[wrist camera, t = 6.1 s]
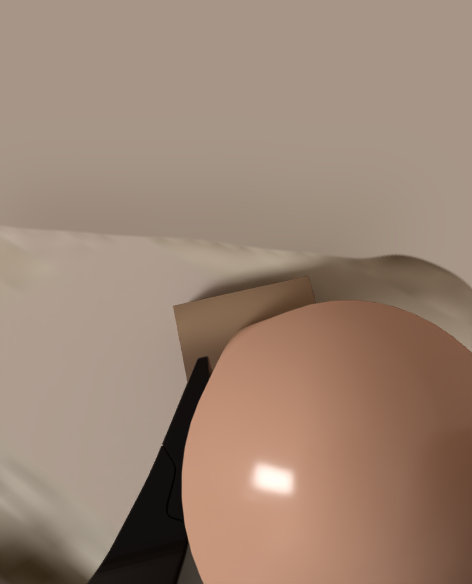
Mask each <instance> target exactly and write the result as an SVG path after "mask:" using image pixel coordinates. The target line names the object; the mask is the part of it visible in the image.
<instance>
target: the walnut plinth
mask: <svg viewBox="0 0 472 584" xmlns="http://www.w3.org/2000/svg"><path fill="white" fill-rule="evenodd" d="M311 304H316V302H315V298H314V295H313V291H312V288H311V284H310V280H309V277H308V276H305V277H301V278H296V279H292V280H287V281H283V282H278V283H274V284H269V285H265V286H260V287H256V288H251V289H247V290H242V291H238V292H233V293H229V294H224V295H220V296H215V297H211V298H206V299H202V300H197V301H193V302H188V303H184V304H179V305H175V306H173V308H174V313H175V319H176V324H177V329H178V334H179V340H180V345H181V350H182V355H183V361H184V366H185V371H186V376H187V382H188V380H189V378H190V376H191V373H192V371H193V368H194V366H195V363H196V361H197V359H198V358H199V357H204V356H208V357H209V360H210V363H211V366H212V370H213V371H214V369H215V367H216V364H217V362H218V360H219V358H220V356H221V354H222V352H223V350H224V348H225V346H226V344H227V342H228V341H229V339H230V338H231V337H232V336H233V335H234V334H235V333H236V332H237V331H239V330H241V329H243V328H245V327H247V326H250V325H253V324H255V323H258V322H261V321H264V320H267V319H269V318H272V317H275V316H278V315H280V314H283V313H286V312H289V311H291V310H295V309H298V308H301V307H304V306H307V305H311Z"/></svg>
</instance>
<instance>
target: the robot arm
mask: <svg viewBox="0 0 472 584" xmlns="http://www.w3.org/2000/svg"><path fill="white" fill-rule="evenodd" d="M212 373H213V370H212V366H211V363H210V360H209V357H208V356H204V357H199V358H198V359H197V361H196V363H195V366H194V368H193V371H192V373H191V376H190V378H189V380H188V383H187V385H186V388H185V390H184V393H183V395H182V397H181V400H180V402H179V405H178V407H177V409H176V412H175V414H174V417H173V419H172V422H171V424H170V426H169V429H168V431H167V434H166V436H165V439H164V441H163V443H162V444H163V446H161V448H160V450H159V453H158V455H157V458H156V460H155V462H154V464H153V467H152V469H151V471H150V473H149V476H148V478H147V480H146V482H145V484H144V486H143V488H142V490H141V492H140V494H139V496H138V498H137V499H136V501H135V503H134V505H133V507H132V509H131V511H130V513H129V515H128V517H127V519H126V520H125V522H124V524H123V526H122V528H121V530H120V532H119V534H118V536H117V538H116V539H115V541H114V543H113V545H112V547H111V549H110V551H109V552H108V554H107V556H106V557H105V559H104V560H103V562H102V563H101V565H100V566H99V568H98V569H97V571H96V572H95V573H94V575H93V576H92V577H91V579H90V580H89V581H88V582H87V583H86V584H204V583H203V581H202V579H201V577H200V574H199V571H198V569H197V566H196V563H195V561H194V558H193V555H192V553H191V548H190V544H189V540H188V536H187V532H186V528H185V521H184V513H183V504H182V468H183V459H184V451H185V445H186V441H187V437H188V433H189V429H190V424H191V421H192V419H193V416H194V413H195V411H196V408H197V405H198V403H199V400H200V398H201V396H202V394H203V392H204V390H205V388H206V385H207V383H208V381H209V379H210V377H211V375H212Z"/></svg>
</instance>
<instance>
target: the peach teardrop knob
mask: <svg viewBox="0 0 472 584" xmlns="http://www.w3.org/2000/svg"><path fill="white" fill-rule="evenodd" d="M182 504H183V513H184V521H185V528H186V532H187V536H188V540H189V544H190V548H191V553H192V555H193V558H194V561H195V563H196V566H197V569H198V571H199V574H200V577H201V579H202V581H203V583H204V584H472V353H471V351H469V350H468V349H467V348H466V347H465V346H463V345H462V344H461V343H460V342H459V341H458V340H456V339H455V338H454V337H453V336H451V335H450V334H448V333H447V332H445V331H444V330H442V329H441V328H439V327H438V326H436V325H435V324H433V323H431V322H429V321H427V320H425V319H423V318H421V317H419V316H417V315H415V314H413V313H410V312H407V311H404V310H402V309H399V308H396V307H393V306H389V305H384V304H380V303H375V302H367V301H357V300H341V301H328V302H322V303H316V304H311V305H307V306H304V307H301V308H298V309H295V310H291V311H289V312H286V313H283V314H280V315H278V316H275V317H272V318H269V319H267V320H264V321H261V322H258V323H255V324H253V325H250V326H247V327H245V328H243V329H241V330H239V331H237V332H236V333H235V334H234V335H233V336H232V337H231V338H230V339H229V341H228V342H227V344H226V346H225V348H224V350H223V352H222V354H221V356H220V358H219V360H218V362H217V364H216V367H215V369H214V371H213V373H212V375H211V377H210V379H209V381H208V383H207V385H206V388H205V390H204V392H203V394H202V396H201V398H200V400H199V403H198V405H197V408H196V411H195V413H194V416H193V419H192V421H191V424H190V429H189V433H188V437H187V441H186V445H185V451H184V459H183V468H182Z"/></svg>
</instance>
